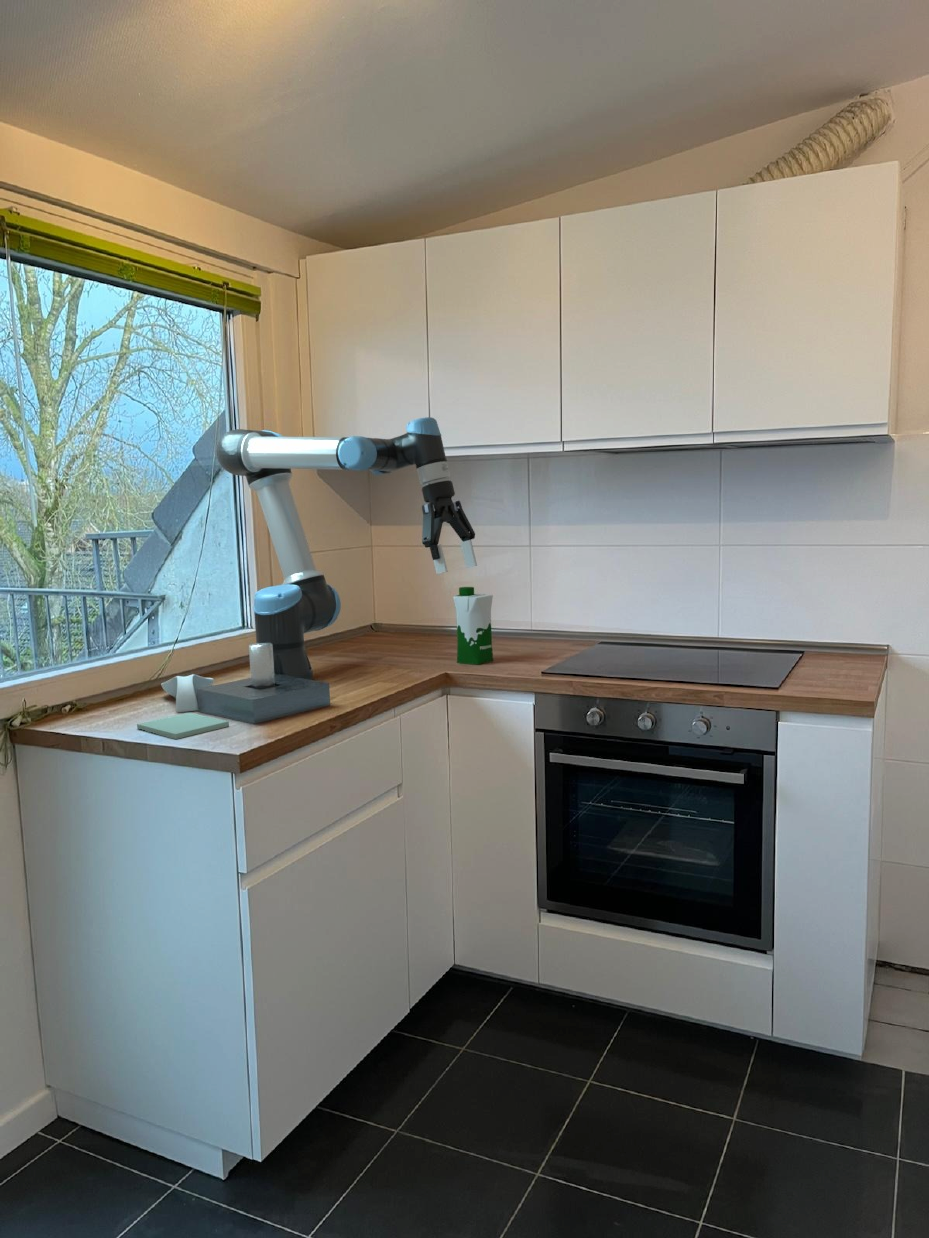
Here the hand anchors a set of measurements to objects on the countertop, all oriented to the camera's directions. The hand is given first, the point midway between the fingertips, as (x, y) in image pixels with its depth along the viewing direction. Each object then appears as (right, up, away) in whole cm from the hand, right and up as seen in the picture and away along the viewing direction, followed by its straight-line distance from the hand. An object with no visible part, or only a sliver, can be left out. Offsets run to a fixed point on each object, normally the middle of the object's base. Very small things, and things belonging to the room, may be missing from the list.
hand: (457, 570), depth 221 cm
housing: (-42, -31, -21) cm, 56 cm away
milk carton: (+5, -23, +27) cm, 36 cm away
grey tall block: (-42, -31, -21) cm, 56 cm away
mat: (-55, -33, -35) cm, 73 cm away
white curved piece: (-61, -31, -10) cm, 69 cm away
